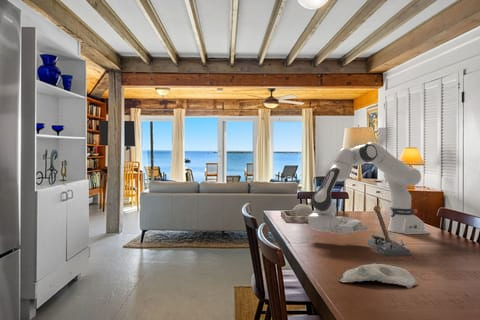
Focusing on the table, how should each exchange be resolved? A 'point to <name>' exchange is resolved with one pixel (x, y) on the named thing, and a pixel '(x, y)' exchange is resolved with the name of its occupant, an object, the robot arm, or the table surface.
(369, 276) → the stone
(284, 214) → the driftwood frame
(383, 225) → the lever
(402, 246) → the stub toggle
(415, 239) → the table surface
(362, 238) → the table surface
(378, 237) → the block
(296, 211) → the seashell
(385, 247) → the panel
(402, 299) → the table surface
